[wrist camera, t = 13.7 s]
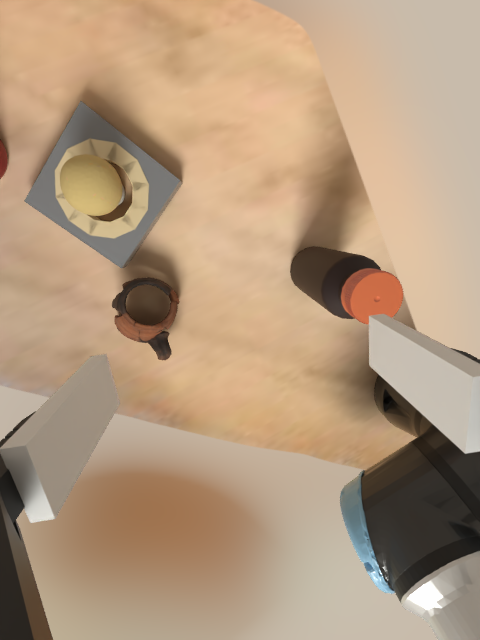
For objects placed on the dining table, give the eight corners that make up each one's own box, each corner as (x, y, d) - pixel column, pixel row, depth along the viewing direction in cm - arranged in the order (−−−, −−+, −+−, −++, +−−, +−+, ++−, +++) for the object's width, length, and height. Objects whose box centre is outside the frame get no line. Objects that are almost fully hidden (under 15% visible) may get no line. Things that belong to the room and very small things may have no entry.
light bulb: (138, 217, 43) (115, 215, 33) (90, 217, 42) (53, 214, 33) (134, 166, 41) (108, 148, 31) (84, 165, 41) (43, 147, 31)
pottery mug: (101, 304, 46) (96, 290, 39) (158, 277, 50) (163, 259, 42) (142, 373, 47) (145, 372, 39) (195, 341, 50) (207, 335, 43)
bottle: (342, 272, 47) (428, 302, 28) (307, 300, 48) (366, 349, 29) (316, 236, 45) (389, 243, 26) (280, 267, 46) (324, 295, 27)
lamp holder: (182, 183, 42) (180, 180, 39) (126, 266, 45) (121, 268, 42) (89, 108, 39) (80, 100, 36) (35, 202, 41) (23, 201, 39)
